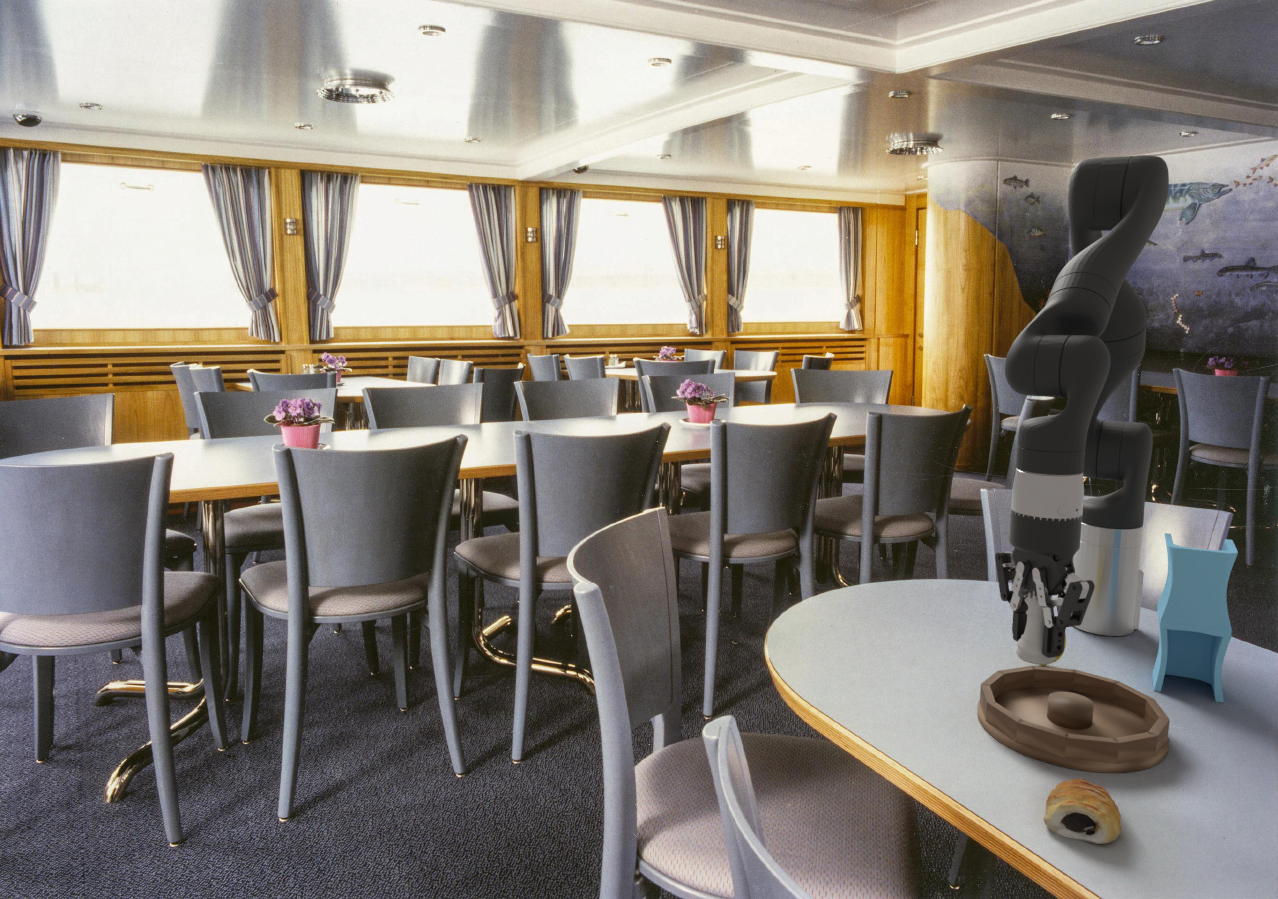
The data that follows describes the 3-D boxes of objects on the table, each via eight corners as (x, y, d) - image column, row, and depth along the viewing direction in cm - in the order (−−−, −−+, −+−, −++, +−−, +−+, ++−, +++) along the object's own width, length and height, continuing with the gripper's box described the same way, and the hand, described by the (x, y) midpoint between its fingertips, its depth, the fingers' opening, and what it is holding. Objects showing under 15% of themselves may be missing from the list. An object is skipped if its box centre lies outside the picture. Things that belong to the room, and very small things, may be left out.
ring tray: (1074, 681, 120) (1076, 657, 119) (1212, 756, 100) (1215, 727, 99) (942, 701, 114) (944, 676, 113) (1061, 785, 94) (1064, 755, 93)
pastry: (1051, 788, 94) (1054, 756, 93) (1122, 807, 90) (1126, 773, 90) (1041, 833, 86) (1044, 798, 85) (1119, 855, 83) (1122, 819, 82)
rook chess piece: (1053, 653, 105) (1058, 589, 104) (1058, 667, 101) (1063, 601, 99) (1013, 648, 106) (1018, 586, 105) (1016, 662, 102) (1021, 597, 101)
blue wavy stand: (1217, 679, 120) (1232, 539, 116) (1223, 702, 113) (1240, 554, 110) (1151, 668, 123) (1164, 532, 120) (1153, 690, 117) (1167, 546, 113)
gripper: (1122, 520, 95) (1109, 667, 98) (1029, 493, 108) (1020, 623, 111) (1065, 525, 93) (1054, 676, 96) (978, 497, 106) (970, 630, 109)
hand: (1036, 647), depth 103 cm, fingers closed on rook chess piece, 4 cm apart
